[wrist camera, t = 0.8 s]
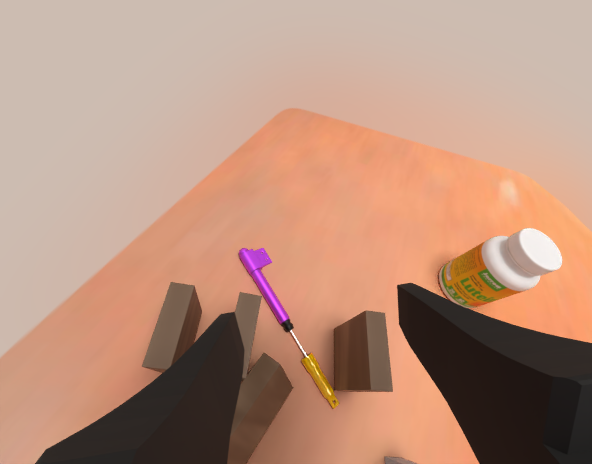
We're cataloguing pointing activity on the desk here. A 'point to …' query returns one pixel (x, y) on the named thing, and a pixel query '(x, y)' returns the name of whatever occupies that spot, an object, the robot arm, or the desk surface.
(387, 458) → the domino
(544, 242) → the supplement bottle
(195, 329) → the domino
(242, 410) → the domino
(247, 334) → the domino
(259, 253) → the purple slender piece
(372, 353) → the domino
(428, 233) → the desk surface
